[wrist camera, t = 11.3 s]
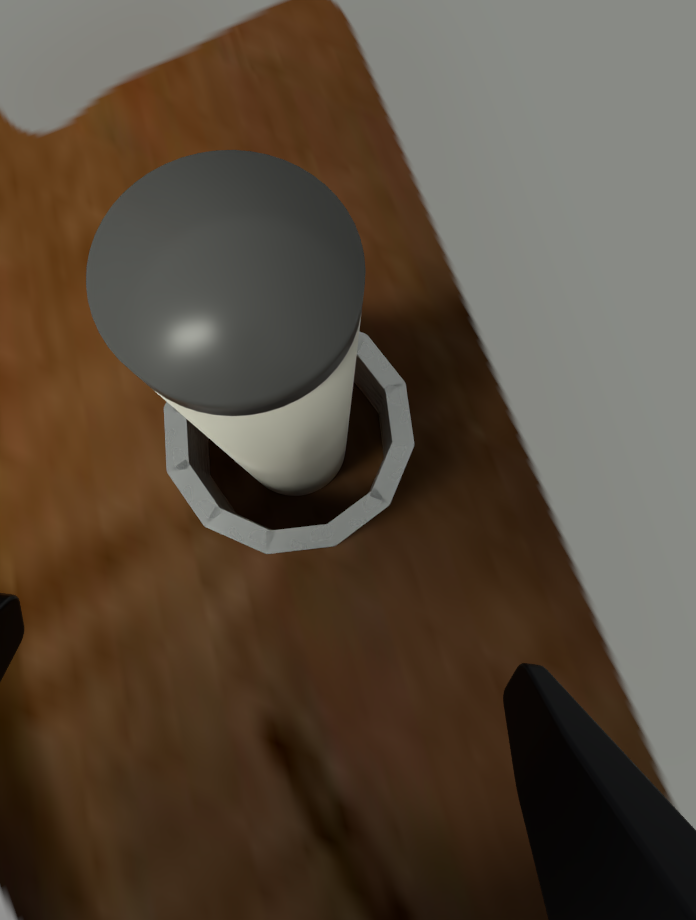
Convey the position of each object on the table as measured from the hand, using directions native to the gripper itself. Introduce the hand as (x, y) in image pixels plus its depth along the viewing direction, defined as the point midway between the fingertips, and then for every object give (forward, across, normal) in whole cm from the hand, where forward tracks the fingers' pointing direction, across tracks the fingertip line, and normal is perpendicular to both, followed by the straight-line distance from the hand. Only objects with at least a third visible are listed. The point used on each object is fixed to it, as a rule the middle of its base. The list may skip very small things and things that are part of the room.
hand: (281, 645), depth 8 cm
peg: (+12, 0, +2) cm, 12 cm away
